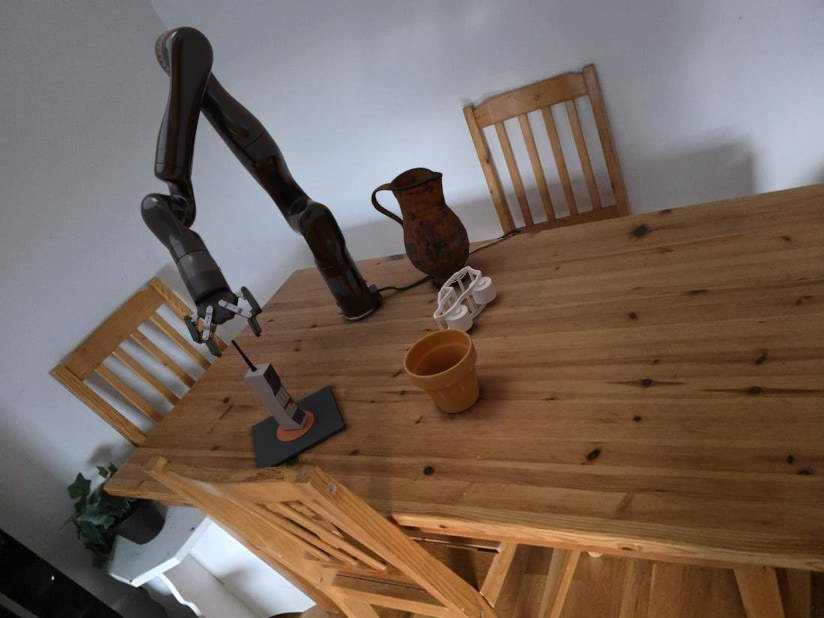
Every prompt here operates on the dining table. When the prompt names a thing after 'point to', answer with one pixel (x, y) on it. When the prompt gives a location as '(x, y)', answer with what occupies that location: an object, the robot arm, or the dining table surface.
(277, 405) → the vintage mobile phone
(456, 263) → the pitcher
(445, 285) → the skeletal toy car
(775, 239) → the dining table surface
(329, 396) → the mat
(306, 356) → the dining table surface
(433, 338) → the flower pot
